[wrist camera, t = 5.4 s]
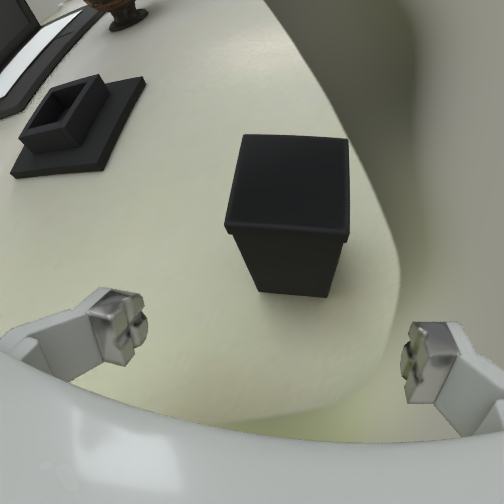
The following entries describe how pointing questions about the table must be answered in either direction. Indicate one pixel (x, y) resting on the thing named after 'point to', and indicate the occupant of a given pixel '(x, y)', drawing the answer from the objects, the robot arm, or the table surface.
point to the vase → (119, 12)
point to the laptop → (33, 49)
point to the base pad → (76, 126)
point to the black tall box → (291, 211)
